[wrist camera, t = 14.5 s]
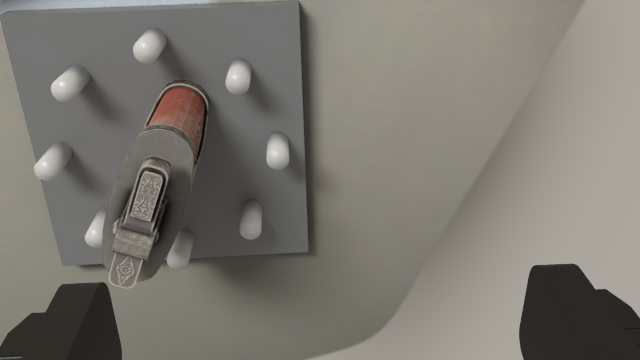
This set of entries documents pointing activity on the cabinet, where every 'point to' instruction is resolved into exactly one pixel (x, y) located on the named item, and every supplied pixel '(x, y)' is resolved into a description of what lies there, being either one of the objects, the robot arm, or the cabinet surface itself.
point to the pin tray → (140, 97)
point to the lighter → (155, 184)
